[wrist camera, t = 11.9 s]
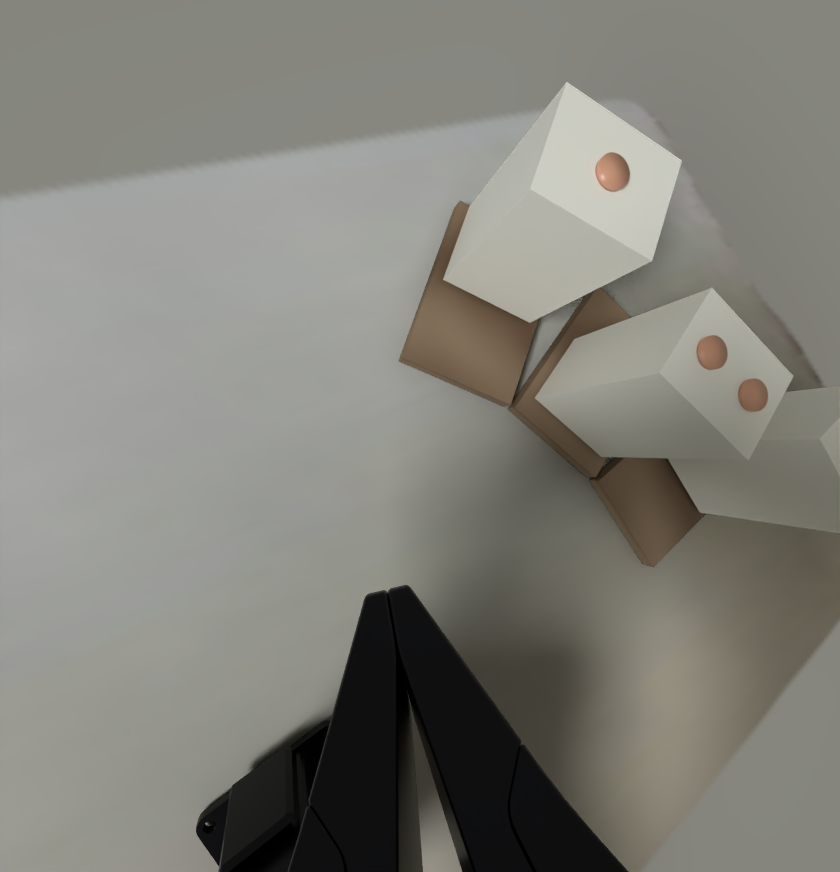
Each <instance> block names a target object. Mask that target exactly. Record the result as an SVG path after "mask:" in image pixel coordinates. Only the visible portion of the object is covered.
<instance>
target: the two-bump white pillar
mask: <svg viewBox="0 0 840 872" xmlns="http://www.w3.org/2000/svg"><path fill="white" fill-rule="evenodd" d="M793 377H794V376H793V375H792V374H791V373H790V372H789V371H788V370H787V369H786V367H785V366H784V365H783V364H782V363H781V362H780V361H779V360H778V359H777V358H776V357H775V356H774V354H773V353H772V352H771V351H770V350H769V349H768V348H767V347H766V346H765V345H764V344H763V343H762V341H761V340H760V339H759V338H758V337H757V336H756V335H755V334H754V333H753V332H752V331H751V329H750V328H749V327H748V326H747V325H746V324H745V323H744V322H743V321H742V320H741V319H740V318H739V316H738V315H737V314H736V313H735V312H734V311H733V310H732V309H731V308H730V307H729V306H728V305H727V303H726V302H725V301H724V300H723V299H722V298H721V297H720V296H719V295H718V294H717V293H716V291H715V290H714V289H713V288H710V289H707V290H704V291H702V292H699V293H696V294H694V295H691V296H688V297H686V298H683V299H680V300H677V301H675V302H672V303H669V304H667V305H664V306H661V307H659V308H656V309H653V310H651V311H648V312H645V313H643V314H640V315H637V316H635V317H632V318H629V319H627V320H624V321H621V322H619V323H616V324H613V325H611V326H608V327H605V328H603V329H600V330H597V331H595V332H592V333H589V334H587V335H584V336H581V337H579V338H576V339H574V340H573V342H572V343H571V345H570V346H569V348H568V349H567V351H566V352H565V354H564V355H563V357H562V358H561V360H560V361H559V363H558V364H557V366H556V367H555V369H554V370H553V372H552V373H551V374H550V376H549V377H548V379H547V380H546V382H545V383H544V385H543V386H542V388H541V389H540V391H539V392H538V394H537V395H536V397H535V399H536V400H537V401H538V402H540V403H541V404H542V405H543V406H544V407H545V408H546V409H548V410H549V411H550V412H551V413H552V414H553V415H554V416H555V417H557V418H558V419H559V420H560V421H561V422H562V423H563V424H565V425H566V426H567V427H568V428H569V429H570V430H571V431H572V432H574V433H575V434H576V435H577V436H578V437H579V438H580V439H582V440H583V441H584V442H585V443H586V444H587V445H588V446H589V447H591V448H592V449H593V450H594V451H595V452H596V453H597V454H598V455H600V456H601V457H628V458H670V459H712V460H749V459H750V457H751V455H752V453H753V451H754V449H755V447H756V445H757V444H758V442H759V440H760V438H761V436H762V434H763V432H764V431H765V429H766V427H767V425H768V423H769V421H770V419H771V418H772V416H773V414H774V412H775V410H776V408H777V406H778V405H779V403H780V401H781V399H782V397H783V395H784V393H785V391H786V390H787V388H788V386H789V384H790V382H791V380H792V378H793Z"/></svg>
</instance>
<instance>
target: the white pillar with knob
mask: <svg viewBox="0 0 840 872" xmlns="http://www.w3.org/2000/svg"><path fill="white" fill-rule="evenodd" d="M681 162H682V160H680V159H679V158H677V157H676V156H674V155H673V154H671V153H670V152H668V151H667V150H666V149H664V148H663V147H661V146H660V145H658V144H657V143H655V142H654V141H652V140H651V139H649V138H648V137H647V136H645V135H644V134H642V133H641V132H639V131H638V130H636V129H635V128H633V127H632V126H630V125H629V124H627V123H626V122H625V121H623V120H622V119H620V118H619V117H617V116H616V115H614V114H613V113H611V112H610V111H608V110H607V109H606V108H604V107H603V106H601V105H600V104H598V103H597V102H595V101H594V100H592V99H591V98H589V97H588V96H586V95H585V94H583V93H582V92H580V91H579V90H578V89H576V88H575V87H573V86H572V85H570V84H569V83H567V82H566V84H565V85H564V86H563V87H562V89H561V90H560V91H559V93H558V94H557V95H556V97H555V98H554V99H553V100H552V101H551V103H550V104H549V105H548V107H547V108H546V109H545V110H544V112H543V113H542V114H541V116H540V117H539V118H538V119H537V121H536V122H535V123H534V125H533V126H532V127H531V128H530V130H529V131H528V132H527V133H526V135H525V136H524V137H523V139H522V140H521V141H520V142H519V144H518V145H517V146H516V148H515V149H514V150H513V151H512V153H511V154H510V155H509V157H508V158H507V159H506V160H505V162H504V163H503V164H502V165H501V167H500V168H499V169H498V171H497V172H496V173H495V174H494V176H493V177H492V178H491V180H490V181H489V182H488V183H487V185H486V186H485V187H484V189H483V190H482V191H481V192H480V194H479V195H478V196H477V197H476V199H475V200H474V201H473V203H472V204H471V205H470V206H469V209H468V211H467V214H466V217H465V220H464V222H463V225H462V228H461V231H460V234H459V236H458V239H457V242H456V245H455V248H454V250H453V253H452V256H451V259H450V262H449V264H448V267H447V270H446V273H445V275H444V278H443V280H445V281H447V282H449V283H451V284H453V285H455V286H457V287H459V288H461V289H463V290H465V291H467V292H469V293H471V294H473V295H475V296H477V297H479V298H481V299H483V300H485V301H487V302H489V303H491V304H493V305H495V306H497V307H499V308H501V309H503V310H505V311H507V312H509V313H511V314H513V315H515V316H517V317H519V318H521V319H523V320H525V321H527V322H529V323H531V322H533V321H535V320H537V319H539V318H540V317H542V316H544V315H546V314H548V313H550V312H552V311H554V310H556V309H558V308H560V307H562V306H564V305H566V304H568V303H570V302H572V301H574V300H576V299H578V298H580V297H582V296H584V295H586V294H588V293H590V292H592V291H594V290H596V289H598V288H600V287H602V286H604V285H606V284H608V283H610V282H612V281H614V280H616V279H618V278H620V277H622V276H624V275H626V274H628V273H630V272H632V271H634V270H636V269H638V268H639V267H641V266H643V265H645V264H647V263H649V262H651V261H652V260H653V256H654V253H655V250H656V246H657V243H658V240H659V236H660V233H661V229H662V226H663V223H664V219H665V216H666V212H667V209H668V206H669V202H670V199H671V195H672V192H673V189H674V185H675V182H676V179H677V175H678V172H679V168H680V165H681Z"/></svg>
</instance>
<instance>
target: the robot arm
mask: <svg viewBox="0 0 840 872" xmlns="http://www.w3.org/2000/svg"><path fill="white" fill-rule="evenodd" d="M408 695H409V697H408ZM409 699H410V703H411V707H412V711H413V714H414V718H415V721H416V724H417V727H418V731H419V734H420V737H421V740H422V743H423V747H424V750H425V753H426V756H427V759H428V763H429V766H430V769H431V772H432V775H433V779H434V782H435V785H436V788H437V791H438V795H439V798H440V801H441V804H442V808H443V811H444V814H445V817H446V820H447V824H448V827H449V830H450V833H451V836H452V840H453V843H454V846H455V849H456V852H457V856H458V859H459V862H460V865H461V868H462V872H628V871H627V870H626V869H625V867H624V866H623V865H622V864H621V863H620V862H619V861H618V860H617V858H616V857H615V856H614V855H613V854H612V853H611V852H610V851H609V850H608V848H607V847H606V846H605V845H604V844H603V843H602V842H601V841H600V839H599V838H598V837H597V836H596V835H595V834H594V833H593V832H592V830H591V829H590V828H589V827H588V826H587V824H586V823H585V822H584V821H583V820H582V819H581V817H580V816H579V815H578V814H577V813H576V811H575V810H574V809H573V808H572V807H571V805H570V804H569V803H568V802H567V801H566V800H565V798H564V797H563V796H562V794H561V793H560V792H559V791H558V789H557V788H556V787H555V785H554V784H553V783H552V781H551V780H550V779H549V777H548V776H547V775H546V774H545V772H544V771H543V770H542V768H541V767H540V766H539V764H538V763H537V762H536V760H535V759H534V757H533V756H532V755H531V753H530V752H529V750H528V749H527V748H526V746H525V745H523V744H522V745H521V740H520V738H519V737H518V736H517V734H516V733H515V731H514V730H513V729H512V727H511V726H510V725H509V723H508V722H507V720H506V719H505V718H504V716H503V715H502V713H501V712H500V711H499V709H498V708H497V707H496V705H495V704H494V702H493V701H492V700H491V698H490V697H489V695H488V694H487V693H486V691H485V690H484V689H483V687H482V686H481V684H480V683H479V682H478V680H477V679H476V677H475V676H474V675H473V673H472V672H471V671H470V669H469V668H468V666H467V665H466V664H465V662H464V661H463V659H462V658H461V657H460V655H459V654H458V653H457V651H456V650H455V648H454V647H453V646H452V644H451V643H450V641H449V640H448V639H447V637H446V636H445V635H444V633H443V632H442V630H441V629H440V628H439V626H438V625H437V623H436V622H435V621H434V619H433V618H432V617H431V615H430V614H429V612H428V611H427V610H426V608H425V607H424V605H423V604H422V603H421V601H420V600H419V599H418V597H417V596H416V594H415V593H414V592H413V590H412V589H411V588H410V587H409V586H408V585H403V586H399V587H395V588H391V589H390V590H389V591H388V593H387V591H385V590H382V591H378V592H374V593H370V594H368V595H366V597H365V599H364V602H363V606H362V609H361V613H360V617H359V620H358V624H357V628H356V631H355V635H354V638H353V642H352V646H351V649H350V653H349V656H348V660H347V664H346V667H345V671H344V674H343V678H342V682H341V685H340V689H339V692H338V696H337V700H336V703H335V707H334V711H333V714H332V718H331V721H325V722H323V723H321V724H320V725H318V726H317V727H316V728H314V729H313V730H311V731H310V732H309V733H307V734H306V735H305V736H303V737H302V738H301V739H299V740H298V741H297V742H295V743H294V744H293V745H291V746H290V747H284V748H282V749H281V750H279V751H278V752H277V753H275V754H274V755H273V756H271V757H270V758H269V759H267V760H266V761H265V762H263V763H262V764H261V765H259V766H258V767H257V768H255V769H254V770H252V771H251V772H250V773H248V774H247V775H246V776H244V777H243V778H242V779H240V780H239V781H238V782H236V783H235V784H234V785H233V786H232V788H231V791H230V792H228V793H227V794H226V795H224V796H223V797H222V798H220V799H219V800H218V801H216V802H215V803H214V804H212V805H211V806H210V807H208V808H207V809H206V810H204V811H203V812H202V813H201V814H200V817H199V819H198V822H197V827H196V833H197V835H198V837H199V839H200V840H201V841H202V843H203V844H204V846H205V847H206V849H207V850H208V851H209V853H210V854H211V856H212V857H213V858H214V860H215V861H216V863H217V864H218V866H219V872H423V866H422V853H421V840H420V827H419V814H418V800H417V787H416V774H415V761H414V748H413V735H412V722H411V712H410V703H409ZM327 731H328V732H327ZM325 732H327V736H326V738H324V737H323V734H324V733H325ZM208 821H214V822H215V824H214V825H212V826H207V825H205V823H206V822H208Z"/></svg>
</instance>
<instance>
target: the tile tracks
mask: <svg viewBox="0 0 840 872" xmlns="http://www.w3.org/2000/svg"><path fill="white" fill-rule="evenodd" d="M468 209H469V205H467V204H465V203H464V202H462V201H459V202H458V204H457V205H456V207H455V208H454V210H453V213H452V216H451V218H450V221H449V224H448V227H447V229H446V232H445V235H444V238H443V240H442V243H441V246H440V249H439V251H438V254H437V257H436V260H435V262H434V265H433V268H432V271H431V273H430V276H429V279H428V282H427V284H426V287H425V290H424V293H423V295H422V298H421V301H420V304H419V306H418V309H417V312H416V315H415V317H414V320H413V323H412V326H411V328H410V331H409V334H408V337H407V339H406V342H405V345H404V348H403V350H402V353H401V356H400V359H399V362H402V363H404V364H406V365H409V366H411V367H413V368H416V369H418V370H420V371H422V372H425V373H427V374H429V375H432V376H434V377H436V378H439V379H441V380H443V381H446V382H448V383H450V384H453V385H455V386H457V387H460V388H462V389H464V390H467V391H469V392H471V393H473V394H476V395H478V396H480V397H483V398H485V399H487V400H490V401H492V402H494V403H497V404H499V405H501V406H508V405H510V406H509V408H508V410H509V411H510V412H512V413H513V414H514V415H515V416H516V417H517V418H519V419H520V420H521V421H522V422H523V423H524V424H526V425H527V426H528V427H529V428H530V429H531V430H533V431H534V432H535V433H536V434H537V435H538V436H540V437H541V438H542V439H543V440H544V441H545V442H547V443H548V444H549V445H550V446H551V447H552V448H554V449H555V450H556V451H557V452H558V453H559V454H560V455H562V456H563V457H564V458H565V459H566V460H567V461H569V462H570V463H571V464H572V465H573V466H574V467H576V468H577V469H578V470H579V471H580V472H581V473H583V474H584V475H585V476H586V477H592V478H591V479H590V480H589V481H590V482H591V484H592V485H593V487H594V489H595V490H596V492H597V493H598V495H599V496H600V498H601V500H602V501H603V503H604V504H605V506H606V507H607V509H608V511H609V512H610V514H611V515H612V517H613V518H614V520H615V522H616V523H617V525H618V526H619V528H620V530H621V531H622V533H623V534H624V536H625V537H626V539H627V541H628V542H629V544H630V545H631V547H632V548H633V550H634V552H635V553H636V555H637V556H638V558H639V559H640V561H641V563H642V564H644V565H648V566H651V567H654V566H655V565H656V564H657V563H658V562H659V561H660V560H661V559H662V558H663V557H664V556H665V555H666V554H667V553H668V552H669V551H670V550H671V549H672V548H673V547H674V546H675V545H676V544H677V543H678V542H679V541H680V540H681V539H682V538H683V537H684V535H685V534H686V533H687V532H688V531H689V530H690V529H691V528H692V527H693V526H694V525H695V524H696V523H697V522H698V521H699V520H700V519H701V518H702V517H703V516H704V515H705V514H706V513H700V512H699V510H698V509H697V507H696V505H695V504H694V502H693V500H692V499H691V497H690V495H689V494H688V492H687V490H686V489H685V487H684V485H683V483H682V482H681V480H680V478H679V477H678V475H677V473H676V472H675V470H674V468H673V467H672V465H671V463H670V462H669V460H668V458H628V457H614V458H613V459H612V460H611V461H610V462H609V463H608V464H607V465H605V466H604V467H603V468H602V466H603V465H604V463H605V461H606V460H607V458H608V457H601V456H600V455H598V454H597V453H596V452H595V451H594V450H593V449H592V448H591V447H589V446H588V445H587V444H586V443H585V442H584V441H583V440H582V439H580V438H579V437H578V436H577V435H576V434H575V433H574V432H572V431H571V430H570V429H569V428H568V427H567V426H566V425H565V424H563V423H562V422H561V421H560V420H559V419H558V418H557V417H555V416H554V415H553V414H552V413H551V412H550V411H549V410H548V409H546V408H545V407H544V406H543V405H542V404H541V403H540V402H538V401H537V400H536V399H535V397H536V395H537V394H538V392H539V391H540V389H541V388H542V386H543V385H544V383H545V382H546V380H547V379H548V377H549V376H550V374H551V373H552V372H553V370H554V369H555V367H556V366H557V364H558V363H559V361H560V360H561V358H562V357H563V355H564V354H565V352H566V351H567V349H568V348H569V346H570V345H571V343H572V342H573V340H574V339H576V338H579V337H581V336H584V335H587V334H589V333H592V332H595V331H597V330H600V329H603V328H605V327H608V326H611V325H613V324H616V323H619V322H621V321H624V320H627V319H629V318H631V317H630V316H629V315H628V314H627V313H626V312H625V311H624V310H623V309H622V308H621V307H620V306H619V305H618V304H617V303H616V302H615V301H614V300H613V299H612V298H611V297H610V296H609V295H608V294H607V293H606V292H605V291H604V290H603V289H602V288H601V287H600V288H598V289H596V290H594V291H592V292H590V293H588V294H586V295H585V297H584V298H583V300H582V301H581V303H580V304H579V306H578V307H577V309H576V310H575V311H574V313H573V314H572V316H571V317H570V319H569V320H568V322H567V323H566V325H565V326H564V327H563V329H562V330H561V332H560V333H559V335H558V336H557V338H556V339H555V341H554V342H553V343H552V345H551V346H550V348H549V349H548V351H547V352H546V354H545V355H544V357H543V358H542V359H541V361H540V362H539V364H538V365H537V367H536V368H535V370H534V371H533V373H532V374H531V375H530V377H529V378H528V380H527V381H526V383H525V384H524V386H523V387H522V389H521V390H520V392H519V393H518V394H517V396H516V397H515V399H514V400H513V397H514V394H515V391H516V387H517V384H518V381H519V378H520V375H521V372H522V369H523V366H524V363H525V360H526V357H527V354H528V351H529V347H530V344H531V341H532V338H533V335H534V332H535V329H536V326H537V323H538V320H539V319H537V320H535V321H533V322H531V323H529V322H527V321H525V320H523V319H521V318H519V317H517V316H515V315H513V314H511V313H509V312H507V311H505V310H503V309H501V308H499V307H497V306H495V305H493V304H491V303H489V302H487V301H485V300H483V299H481V298H479V297H477V296H475V295H473V294H471V293H469V292H467V291H465V290H463V289H461V288H459V287H457V286H455V285H453V284H451V283H449V282H447V281H445V280H443V278H444V275H445V273H446V270H447V267H448V264H449V262H450V259H451V256H452V253H453V250H454V248H455V245H456V242H457V239H458V236H459V234H460V231H461V228H462V225H463V222H464V220H465V217H466V214H467V211H468ZM512 400H513V402H512ZM601 468H602V469H601Z"/></svg>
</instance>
